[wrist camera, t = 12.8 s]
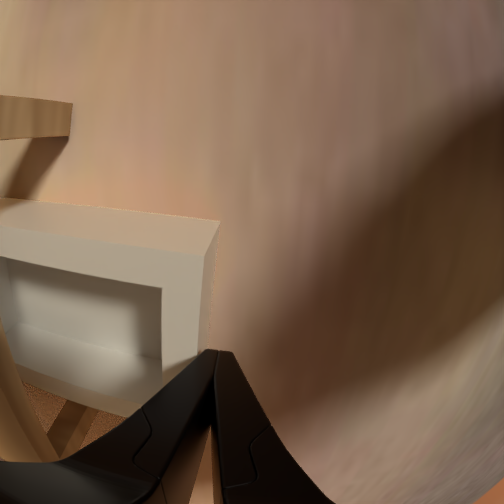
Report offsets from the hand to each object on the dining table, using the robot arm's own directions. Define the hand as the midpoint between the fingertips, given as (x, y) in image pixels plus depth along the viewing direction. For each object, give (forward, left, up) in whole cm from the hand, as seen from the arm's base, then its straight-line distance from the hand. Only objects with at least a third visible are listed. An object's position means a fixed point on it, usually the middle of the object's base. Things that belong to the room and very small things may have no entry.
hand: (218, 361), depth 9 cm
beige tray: (+4, -4, -3) cm, 6 cm away
